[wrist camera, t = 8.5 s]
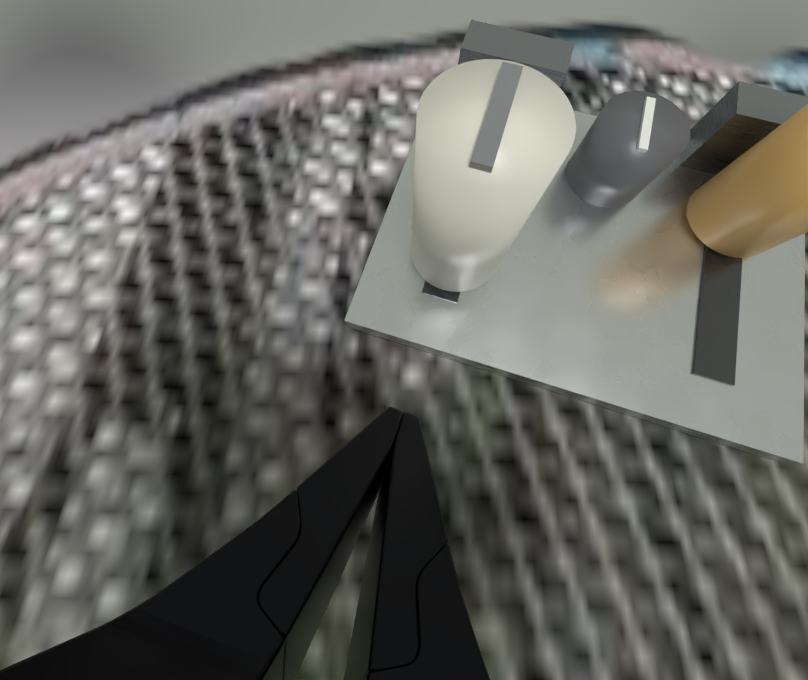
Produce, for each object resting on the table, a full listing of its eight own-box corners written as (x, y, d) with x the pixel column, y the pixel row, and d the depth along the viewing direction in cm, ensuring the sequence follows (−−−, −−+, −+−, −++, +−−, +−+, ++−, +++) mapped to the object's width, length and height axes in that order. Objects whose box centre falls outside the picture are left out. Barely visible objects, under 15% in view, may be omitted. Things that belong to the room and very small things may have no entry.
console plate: (770, 459, 14) (915, 476, 10) (348, 327, 16) (329, 296, 12) (779, 183, 18) (888, 115, 14) (435, 97, 20) (444, 13, 16)
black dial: (635, 216, 16) (689, 169, 13) (559, 196, 16) (595, 146, 13) (644, 156, 17) (697, 99, 14) (573, 138, 17) (609, 79, 14)
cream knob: (487, 303, 15) (563, 199, 8) (399, 276, 15) (395, 154, 8) (508, 225, 16) (592, 71, 9) (425, 202, 16) (442, 36, 9)
